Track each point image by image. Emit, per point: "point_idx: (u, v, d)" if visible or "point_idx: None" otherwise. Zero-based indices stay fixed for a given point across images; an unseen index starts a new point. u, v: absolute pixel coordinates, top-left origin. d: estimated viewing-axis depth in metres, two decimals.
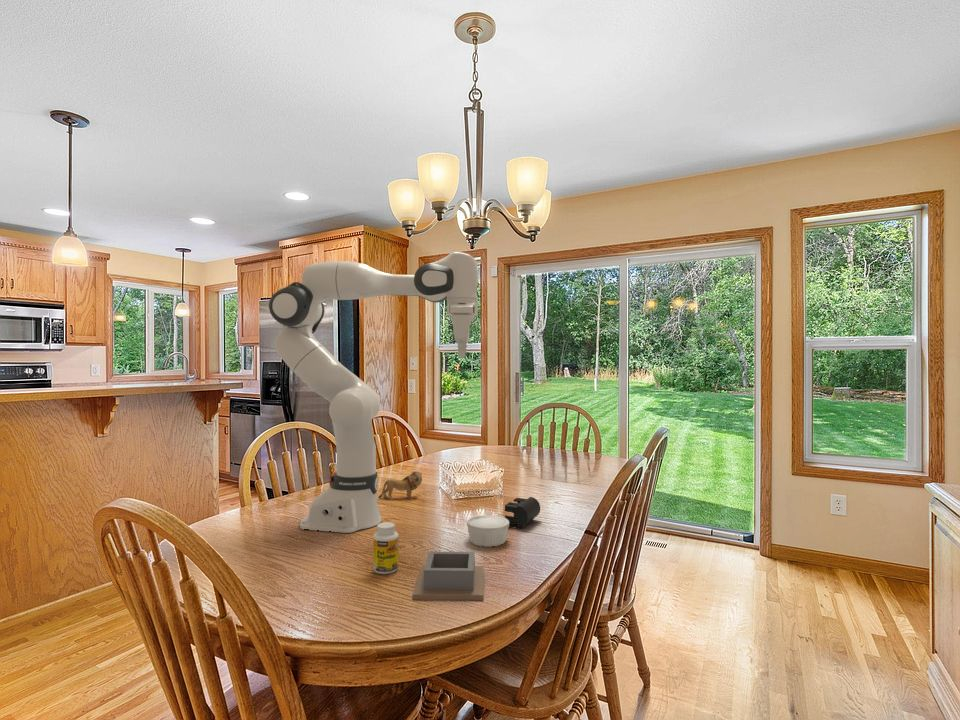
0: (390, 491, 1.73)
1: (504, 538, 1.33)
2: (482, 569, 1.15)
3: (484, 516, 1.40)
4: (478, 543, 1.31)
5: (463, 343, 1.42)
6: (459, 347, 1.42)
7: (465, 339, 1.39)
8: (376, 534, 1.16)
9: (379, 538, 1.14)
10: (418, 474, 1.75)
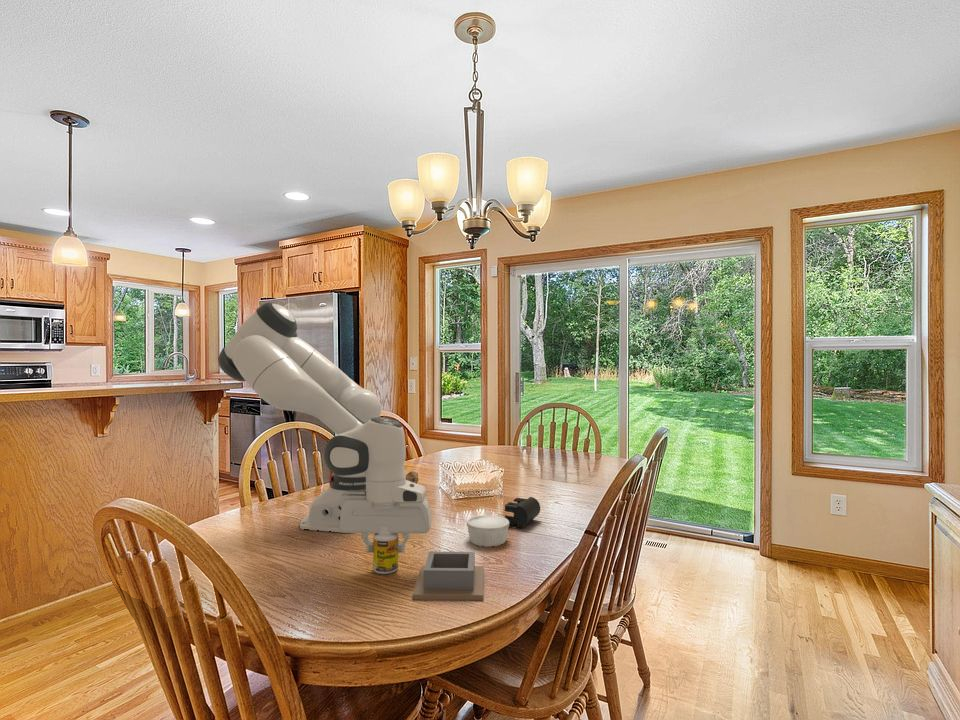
0: None
1: (504, 538, 1.33)
2: (482, 569, 1.15)
3: (484, 516, 1.40)
4: (478, 543, 1.31)
5: (409, 533, 1.17)
6: None
7: None
8: (376, 534, 1.16)
9: (379, 538, 1.14)
10: (414, 474, 1.75)
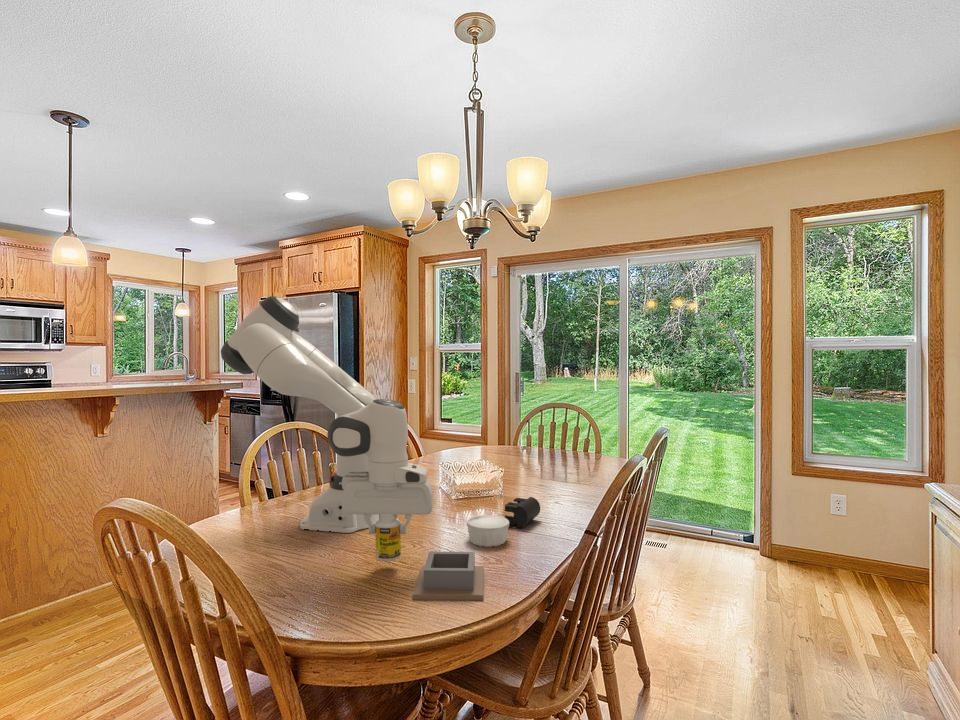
0: None
1: (504, 538, 1.33)
2: (482, 569, 1.15)
3: (484, 516, 1.40)
4: (478, 543, 1.31)
5: (411, 514, 1.17)
6: (409, 521, 1.16)
7: None
8: (378, 521, 1.16)
9: (381, 525, 1.14)
10: None
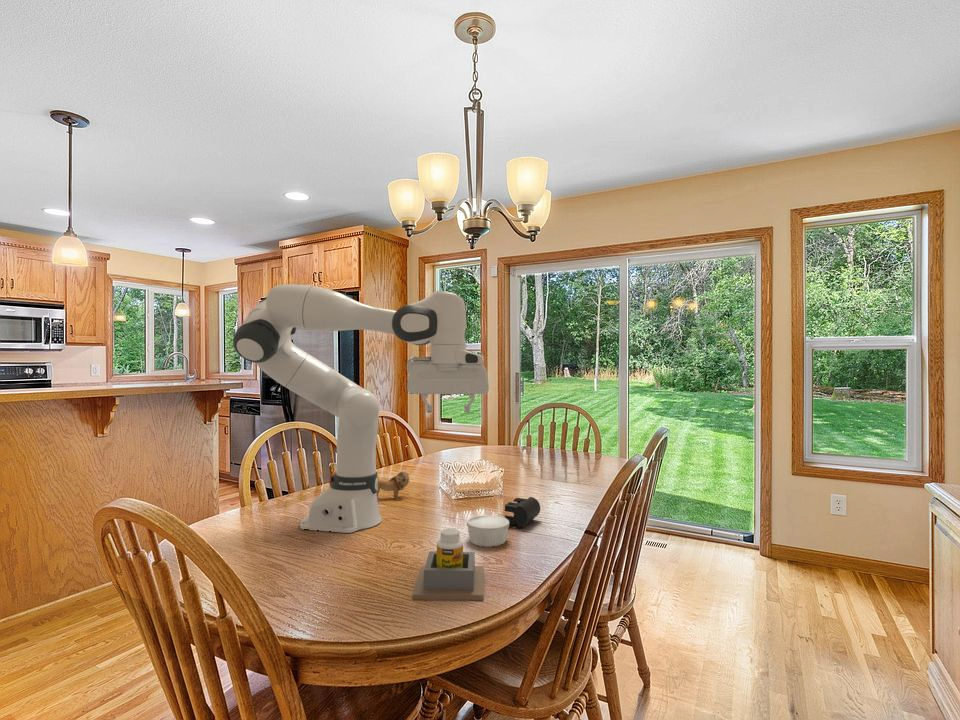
0: (377, 492, 1.73)
1: (504, 538, 1.33)
2: (482, 569, 1.15)
3: (484, 516, 1.40)
4: (478, 543, 1.31)
5: None
6: None
7: None
8: (440, 541, 1.08)
9: (444, 546, 1.07)
10: (405, 474, 1.75)
